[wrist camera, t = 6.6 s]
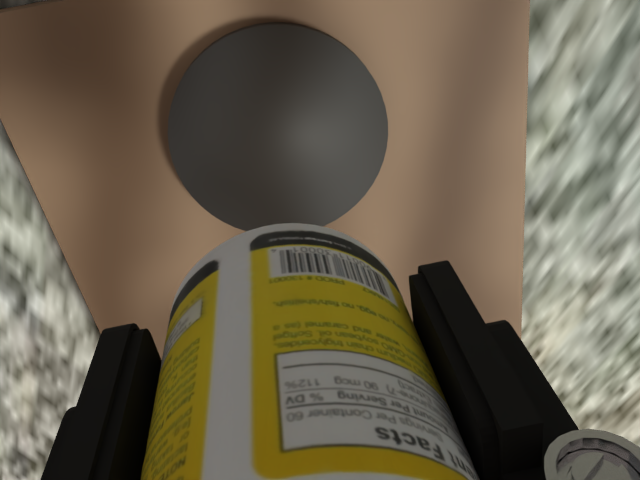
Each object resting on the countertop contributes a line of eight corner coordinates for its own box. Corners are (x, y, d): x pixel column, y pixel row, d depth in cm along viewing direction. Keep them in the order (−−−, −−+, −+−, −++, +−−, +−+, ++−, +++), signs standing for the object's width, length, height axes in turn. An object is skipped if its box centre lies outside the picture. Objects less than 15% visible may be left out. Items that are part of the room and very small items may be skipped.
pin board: (516, -89, 19) (540, -88, 17) (510, 391, 30) (523, 417, 29) (-29, 14, 19) (-55, 24, 17) (170, 457, 30) (165, 487, 28)
